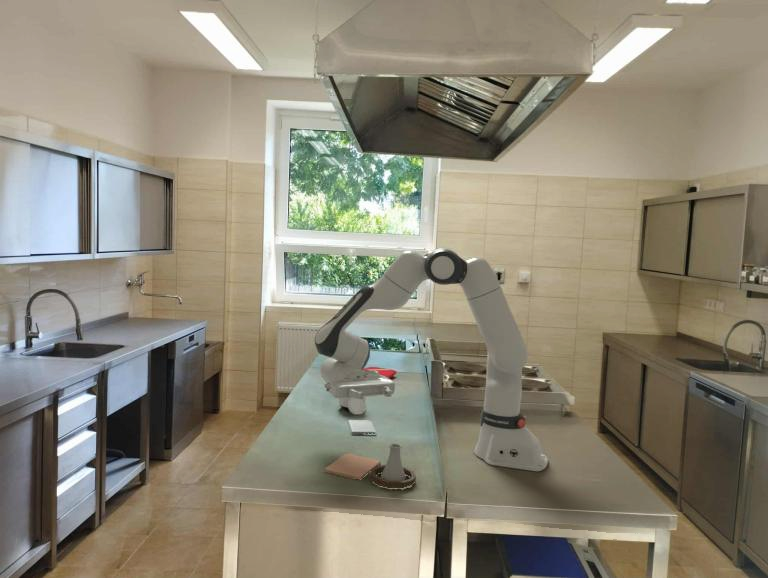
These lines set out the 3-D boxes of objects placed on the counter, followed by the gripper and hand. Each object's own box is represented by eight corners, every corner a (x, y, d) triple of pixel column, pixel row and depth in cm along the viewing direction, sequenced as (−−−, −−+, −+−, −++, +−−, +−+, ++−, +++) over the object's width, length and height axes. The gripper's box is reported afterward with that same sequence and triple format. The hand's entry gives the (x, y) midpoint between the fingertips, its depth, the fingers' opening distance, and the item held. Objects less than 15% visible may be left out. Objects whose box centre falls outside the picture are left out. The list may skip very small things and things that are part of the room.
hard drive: (376, 432, 203) (371, 419, 216) (351, 431, 202) (347, 419, 214) (376, 437, 204) (370, 424, 216) (351, 436, 202) (347, 423, 214)
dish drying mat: (325, 391, 253) (326, 382, 253) (366, 372, 291) (366, 364, 291) (360, 398, 247) (360, 389, 247) (397, 377, 285) (397, 369, 285)
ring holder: (420, 477, 172) (421, 470, 171) (405, 493, 161) (406, 486, 160) (381, 468, 176) (381, 461, 176) (363, 483, 165) (364, 476, 165)
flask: (410, 480, 169) (413, 445, 168) (397, 488, 163) (400, 452, 162) (388, 473, 173) (391, 438, 172) (374, 481, 167) (377, 445, 166)
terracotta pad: (380, 463, 179) (380, 461, 179) (360, 480, 166) (360, 477, 166) (346, 455, 184) (346, 453, 183) (324, 471, 171) (324, 468, 171)
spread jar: (352, 403, 237) (354, 374, 236) (375, 410, 230) (377, 380, 229) (331, 410, 227) (333, 379, 226) (355, 417, 221) (357, 385, 219)
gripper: (322, 373, 182) (344, 386, 170) (381, 370, 193) (405, 382, 181) (320, 394, 183) (342, 409, 171) (379, 390, 194) (403, 403, 182)
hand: (375, 395), depth 176 cm, fingers open, 8 cm apart
